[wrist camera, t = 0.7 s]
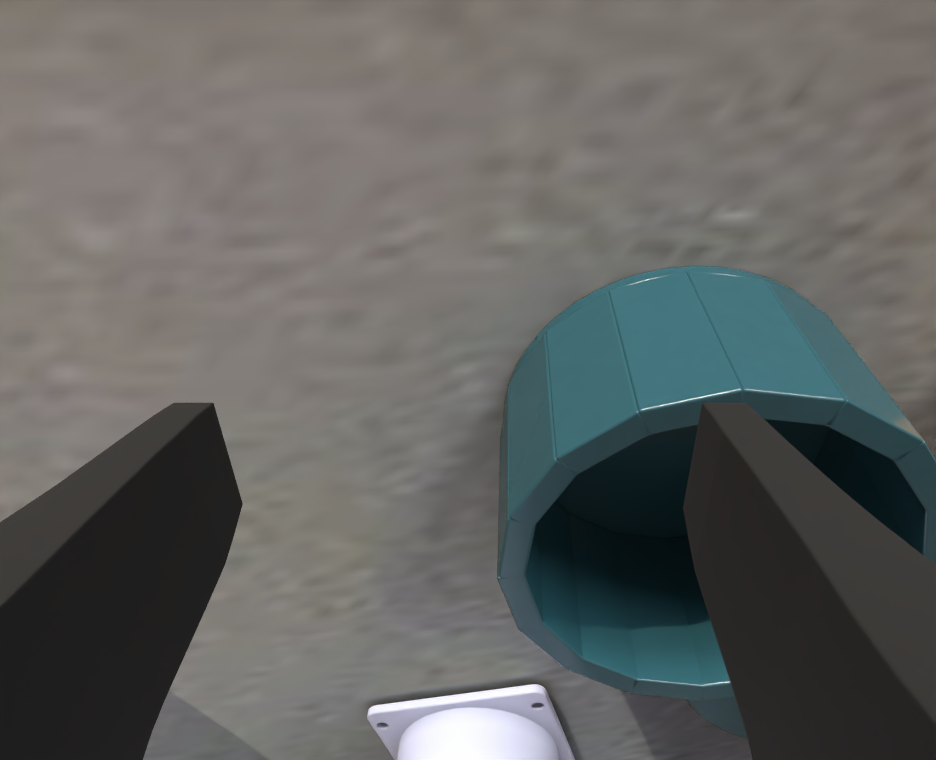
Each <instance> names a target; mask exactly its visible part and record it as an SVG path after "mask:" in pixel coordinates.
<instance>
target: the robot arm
mask: <svg viewBox="0 0 936 760" xmlns="http://www.w3.org/2000/svg"><path fill="white" fill-rule="evenodd" d="M241 507H242V500H241V497H240V493H239V490H238V486H237V483H236V480H235V476H234V473H233V469H232V466H231V462H230V459H229V455H228V452H227V448H226V445H225V442H224V438H223V435H222V431H221V428H220V424H219V421H218V417H217V414H216V411H215V407H214V404H213V403H173V404H171V405H170V406H168V407H167V408H165V409H163V410H162V411H160V412H159V413H157V414H156V415H154V416H153V417H151V418H150V419H148V420H147V421H145V422H144V423H143V424H141V425H140V426H138V427H137V428H135V429H134V430H133V431H131V432H130V433H128V434H127V435H126V436H124V437H123V438H121V439H120V440H119V441H117V442H116V443H115V444H113V445H112V446H110V447H109V448H108V449H106V450H105V451H103V452H102V453H101V454H99V455H98V456H96V457H95V458H94V459H92V460H91V461H89V462H88V463H87V464H85V465H84V466H82V467H81V468H80V469H78V470H77V471H75V472H74V473H73V474H71V475H70V476H68V477H67V478H66V479H64V480H63V481H61V482H60V483H59V484H57V485H56V486H54V487H53V488H51V489H50V490H48V491H47V492H45V493H44V494H42V495H41V496H39V497H38V498H36V499H35V500H33V501H32V502H30V503H29V504H27V505H26V506H24V507H23V508H21V509H20V510H18V511H17V512H15V513H14V514H12V515H11V516H9V517H8V518H6V519H5V520H3V521H2V522H0V760H143V757H144V754H145V751H146V748H147V745H148V742H149V739H150V736H151V733H152V730H153V728H154V725H155V723H156V720H157V718H158V715H159V713H160V710H161V708H162V705H163V703H164V700H165V698H166V696H167V693H168V691H169V689H170V687H171V684H172V682H173V680H174V678H175V676H176V673H177V671H178V669H179V667H180V664H181V662H182V660H183V658H184V656H185V653H186V651H187V649H188V647H189V644H190V642H191V640H192V638H193V636H194V633H195V631H196V629H197V627H198V624H199V622H200V620H201V618H202V616H203V613H204V611H205V609H206V607H207V604H208V602H209V600H210V598H211V595H212V593H213V591H214V588H215V586H216V584H217V582H218V579H219V577H220V575H221V572H222V570H223V568H224V565H225V563H226V559H227V556H228V553H229V550H230V546H231V543H232V540H233V537H234V533H235V529H236V526H237V522H238V518H239V515H240V511H241ZM683 510H684V515H685V521H686V527H687V533H688V538H689V544H690V549H691V554H692V559H693V564H694V569H695V573H696V576H697V579H698V583H699V586H700V589H701V592H702V595H703V599H704V602H705V605H706V608H707V611H708V614H709V617H710V621H711V624H712V627H713V630H714V633H715V636H716V639H717V642H718V645H719V648H720V651H721V654H722V658H723V661H724V664H725V667H726V670H727V673H728V676H729V679H730V682H731V685H732V688H733V691H734V694H735V698H736V701H737V704H738V707H739V710H740V713H741V716H742V720H743V723H744V727H745V731H746V734H747V738H748V741H749V745H750V749H751V753H752V757H753V760H936V564H935V563H933V562H932V561H930V560H929V559H928V558H926V557H925V556H924V555H922V554H921V553H920V552H918V551H917V550H916V549H915V548H913V547H912V546H911V545H909V544H908V543H907V542H906V541H904V540H903V539H902V538H900V537H899V536H898V535H897V534H895V533H894V532H893V531H891V530H890V529H889V528H888V527H886V526H885V525H884V524H883V523H881V522H880V521H879V520H877V519H876V518H875V517H874V516H873V515H871V514H870V513H869V512H868V511H867V510H865V509H864V508H863V507H862V506H860V505H859V504H858V503H857V502H856V501H855V500H853V499H852V498H851V497H850V496H849V495H847V494H846V493H845V492H844V491H843V490H842V489H840V488H839V487H838V486H837V485H836V484H835V483H834V482H832V481H831V480H830V479H829V478H828V477H827V476H826V475H824V474H823V473H822V472H821V471H820V470H819V469H818V468H817V467H816V466H814V465H813V464H812V463H811V462H810V461H809V460H808V459H807V458H806V457H804V456H803V455H802V454H801V453H800V452H799V451H798V450H797V449H796V448H795V447H794V446H792V445H791V444H790V443H789V442H788V441H787V440H786V439H785V438H784V437H783V436H782V435H781V434H779V433H778V432H777V431H776V430H775V429H774V428H773V427H772V426H771V425H770V424H769V423H768V422H766V421H765V420H764V419H763V418H762V417H761V416H760V415H759V414H758V413H757V412H755V411H754V410H753V409H752V408H751V407H750V406H749V405H747V404H746V403H702V406H701V412H700V417H699V423H698V428H697V434H696V440H695V445H694V451H693V456H692V462H691V467H690V473H689V478H688V484H687V489H686V495H685V501H684V506H683ZM367 719H368V721H369V722H370V724H371V725H372V727H373V728H374V730H375V731H376V733H377V734H378V736H379V737H380V739H381V740H382V742H383V743H384V745H385V746H386V748H387V749H388V751H389V752H390V754H391V755H392V757H393V758H394V760H575V758H574V756H573V753H572V751H571V748H570V746H569V744H568V741H567V739H566V736H565V734H564V731H563V729H562V727H561V724H560V722H559V719H558V717H557V714H556V712H555V710H554V707H553V705H552V702H551V700H550V697H549V695H548V693H547V690H546V689H545V688H544V687H543V686H541V685H537V684H531V685H523V686H516V687H508V688H501V689H493V690H486V691H478V692H471V693H463V694H456V695H449V696H441V697H434V698H426V699H419V700H411V701H404V702H396V703H389V704H381V705H375V706H372V707H371V708H369V710H368V715H367Z"/></svg>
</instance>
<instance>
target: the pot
mask: <svg viewBox="0 0 936 760" xmlns="http://www.w3.org/2000/svg"><path fill="white" fill-rule="evenodd" d="M702 403H746V404H747V405H749V406H750V407H751V408H752V409H753V410H754V411H755V412H757V413H758V414H759V415H760V416H761V417H762V418H763V419H764V420H765V421H766V422H768V423H769V424H770V425H771V426H772V427H773V428H774V429H775V430H776V431H777V432H778V433H779V434H781V435H782V436H783V437H784V438H785V439H786V440H787V441H788V442H789V443H790V444H791V445H792V446H794V447H795V448H796V449H797V450H798V451H799V452H800V453H801V454H802V455H803V456H804V457H806V458H807V459H808V460H809V461H810V462H811V463H812V464H813V465H814V466H816V467H817V468H818V469H819V470H820V471H821V472H822V473H823V474H824V475H826V476H827V477H828V478H829V479H830V480H831V481H832V482H834V483H835V484H836V485H837V486H838V487H839V488H840V489H842V490H843V491H844V492H845V493H846V494H847V495H849V496H850V497H851V498H852V499H853V500H855V501H856V502H857V503H858V504H859V505H860V506H862V507H863V508H864V509H865V510H867V511H868V512H869V513H870V514H871V515H873V516H874V517H875V518H876V519H877V520H879V521H880V522H881V523H883V524H884V525H885V526H886V527H888V528H889V529H890V530H891V531H893V532H894V533H895V534H897V535H898V536H899V537H900V538H902V539H903V540H904V541H906V542H907V543H908V544H909V545H911V546H912V547H913V548H915V549H916V550H917V551H918V552H920V553H921V554H922V555H924V556H925V557H926V558H928V559H929V560H930V561H932V562H933V563H935V564H936V459H935V457H934V455H933V454H932V452H931V450H930V449H929V447H928V445H927V444H926V442H925V441H924V439H923V438H922V437H921V436H920V434H919V433H918V432H917V430H916V429H915V428H914V427H913V425H912V424H911V423H910V421H909V420H908V419H907V417H906V416H905V415H904V414H903V412H902V411H901V410H900V408H899V407H898V406H897V405H896V403H895V402H894V401H893V399H892V398H891V397H890V395H889V394H888V393H887V392H886V390H885V389H884V388H883V386H882V385H881V384H880V383H879V381H878V380H877V379H876V377H875V376H874V375H873V373H872V372H871V371H870V370H869V368H868V367H867V366H866V364H865V363H864V362H863V361H862V359H861V358H860V357H859V355H858V354H857V353H856V352H855V350H854V349H853V348H852V346H851V345H850V344H849V342H848V341H847V340H846V339H845V337H844V336H843V335H842V333H841V332H840V331H839V330H838V328H837V327H836V326H835V324H834V323H833V322H832V320H831V319H830V318H829V317H828V315H826V314H825V313H824V312H822V311H821V310H819V309H817V308H816V307H815V306H814V305H813V304H812V303H810V302H809V301H808V300H807V299H805V298H804V297H802V296H801V295H799V294H798V293H796V292H795V291H793V290H792V289H790V288H788V287H786V286H784V285H782V284H780V283H778V282H775V281H773V280H771V279H769V278H766V277H763V276H759V275H756V274H753V273H750V272H746V271H741V270H735V269H729V268H723V267H708V266H687V267H674V268H666V269H660V270H655V271H650V272H644V273H641V274H638V275H635V276H631V277H628V278H625V279H622V280H619V281H616V282H614V283H612V284H609V285H607V286H605V287H603V288H600V289H598V290H596V291H594V292H592V293H591V294H589V295H587V296H586V297H584V298H582V299H580V300H579V301H577V302H575V303H574V304H573V305H571V306H570V307H569V308H567V309H566V310H565V311H563V312H562V313H561V314H559V315H558V316H557V317H555V318H554V319H553V320H552V321H551V322H550V323H549V324H548V325H547V326H546V327H545V328H544V329H543V330H542V331H541V332H540V333H539V334H538V335H537V337H536V338H535V339H534V341H533V342H532V343H531V344H530V346H529V347H528V348H527V349H526V351H525V353H524V354H523V356H522V358H521V359H520V361H519V363H518V364H517V366H516V368H515V370H514V373H513V375H512V378H511V380H510V383H509V385H508V389H507V393H506V398H505V402H504V412H503V423H502V430H501V436H500V470H499V515H498V561H497V579H498V581H499V584H500V586H501V589H502V591H503V593H504V596H505V598H506V601H507V603H508V605H509V608H510V610H511V613H512V615H513V617H514V620H515V622H516V625H517V627H518V629H519V630H520V632H522V633H523V634H524V635H525V636H526V637H527V638H529V639H530V640H531V641H532V642H533V643H535V644H536V645H537V646H538V647H539V648H540V649H542V650H543V651H544V652H545V653H546V654H548V655H549V656H550V657H551V658H552V659H553V660H555V661H556V662H557V663H558V664H559V665H561V666H562V667H563V668H564V669H567V670H569V671H571V672H574V673H577V674H579V675H582V676H585V677H587V678H590V679H593V680H595V681H598V682H600V683H603V684H606V685H608V686H611V687H614V688H616V689H619V690H622V691H624V692H629V693H630V694H639V695H649V696H659V697H668V698H678V699H688V700H698V701H701V700H710V699H718V698H726V697H734V696H735V694H734V691H733V688H732V685H731V682H730V679H729V676H728V673H727V670H726V667H725V664H724V661H723V658H722V654H721V651H720V648H719V645H718V642H717V639H716V636H715V633H714V630H713V627H712V624H711V621H710V617H709V614H708V611H707V608H706V605H705V602H704V599H703V595H702V592H701V589H700V586H699V583H698V579H697V576H696V573H695V569H694V564H693V559H692V554H691V549H690V544H689V538H688V533H687V527H686V521H685V515H684V510H683V506H684V501H685V495H686V489H687V484H688V478H689V473H690V467H691V462H692V456H693V451H694V445H695V440H696V434H697V428H698V423H699V417H700V412H701V406H702Z"/></svg>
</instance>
